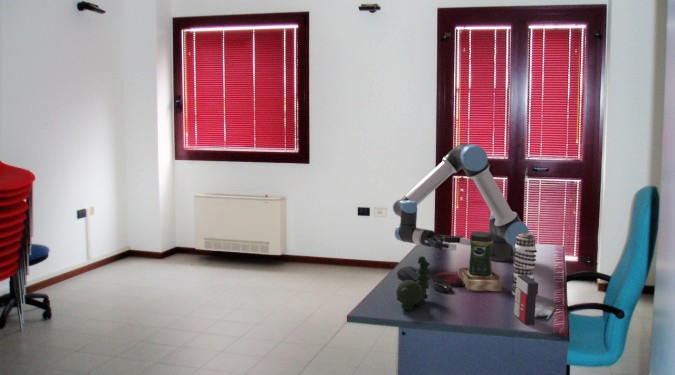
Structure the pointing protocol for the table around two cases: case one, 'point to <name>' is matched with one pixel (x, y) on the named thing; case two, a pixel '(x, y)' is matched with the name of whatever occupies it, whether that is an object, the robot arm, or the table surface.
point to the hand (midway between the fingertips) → (464, 245)
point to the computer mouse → (412, 274)
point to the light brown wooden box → (480, 281)
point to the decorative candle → (523, 257)
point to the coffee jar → (480, 253)
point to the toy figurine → (414, 288)
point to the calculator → (525, 299)
